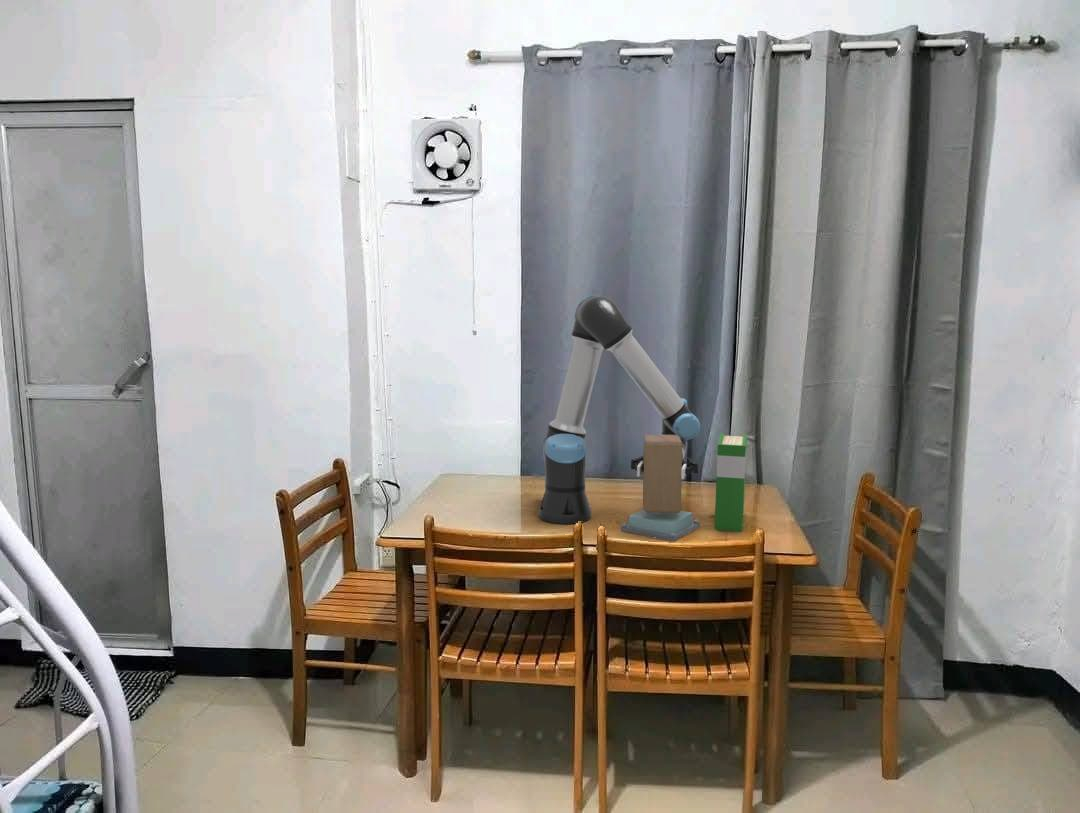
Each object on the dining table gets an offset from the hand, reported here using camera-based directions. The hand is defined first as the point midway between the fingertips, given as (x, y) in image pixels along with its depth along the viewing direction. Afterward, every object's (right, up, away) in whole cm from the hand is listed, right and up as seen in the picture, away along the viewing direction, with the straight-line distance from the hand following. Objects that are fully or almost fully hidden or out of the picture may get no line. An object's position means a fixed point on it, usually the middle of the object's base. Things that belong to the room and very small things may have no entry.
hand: (660, 472), depth 215 cm
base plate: (+1, -16, +6) cm, 17 cm away
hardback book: (+22, -15, +14) cm, 30 cm away
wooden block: (+1, -11, +6) cm, 12 cm away
